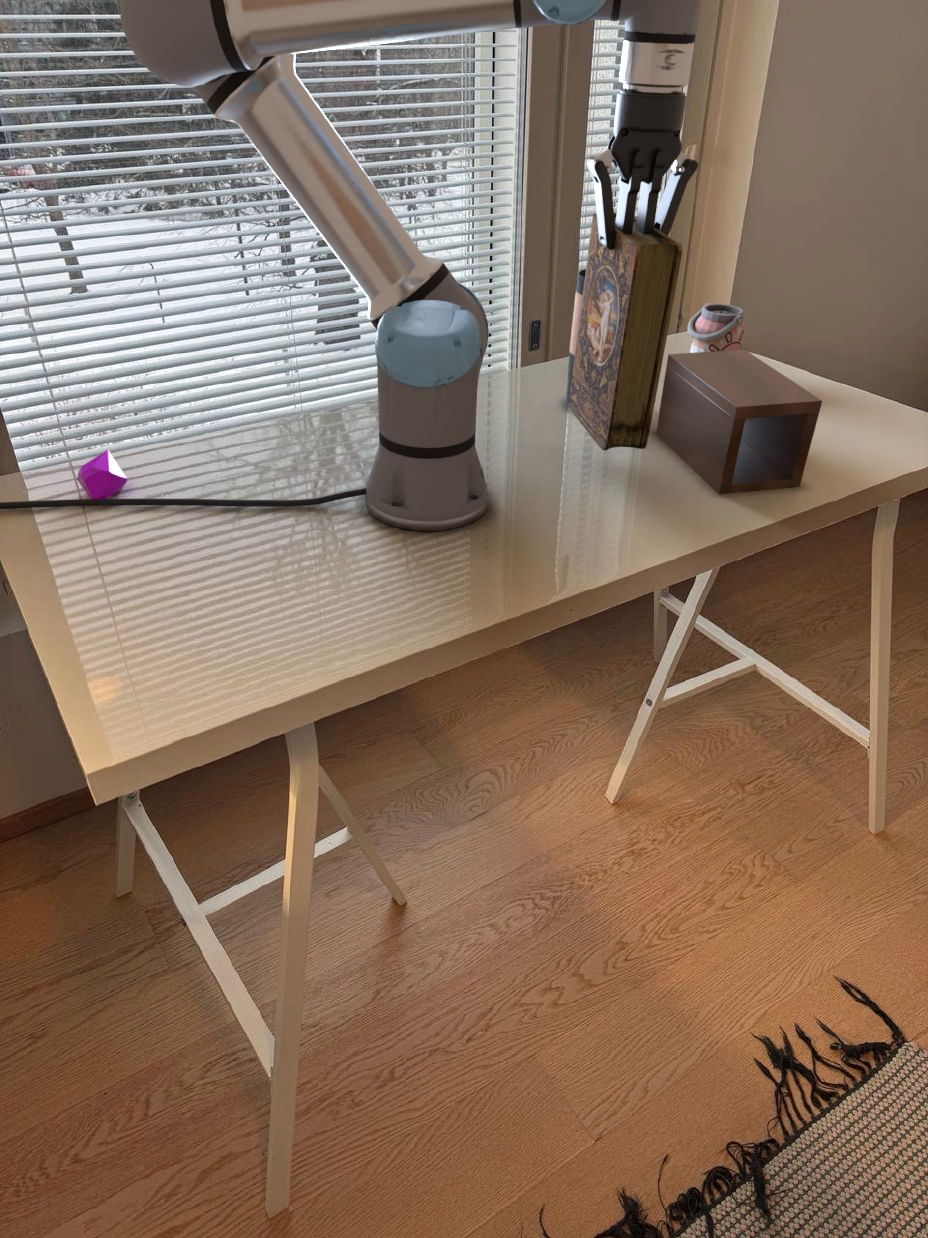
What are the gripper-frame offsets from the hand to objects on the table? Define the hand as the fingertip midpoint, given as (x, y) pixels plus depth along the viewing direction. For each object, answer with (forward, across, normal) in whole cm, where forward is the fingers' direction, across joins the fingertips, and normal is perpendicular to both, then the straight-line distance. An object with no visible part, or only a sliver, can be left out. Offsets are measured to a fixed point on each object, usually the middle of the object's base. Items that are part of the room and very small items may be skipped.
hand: (623, 308), depth 113 cm
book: (+16, 0, 0) cm, 16 cm away
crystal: (+22, -65, +5) cm, 69 cm away
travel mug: (+22, +6, +22) cm, 32 cm away
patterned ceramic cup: (+22, +30, +29) cm, 47 cm away
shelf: (+22, +18, 0) cm, 28 cm away
